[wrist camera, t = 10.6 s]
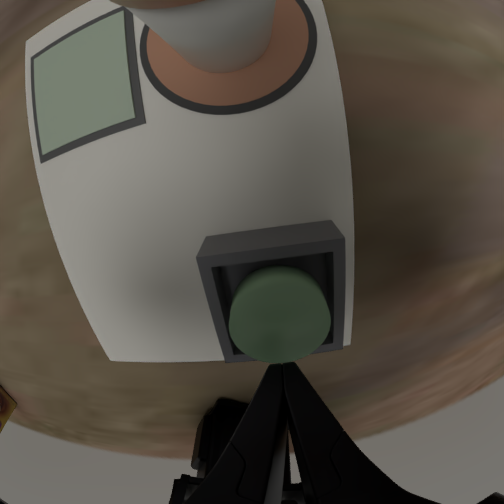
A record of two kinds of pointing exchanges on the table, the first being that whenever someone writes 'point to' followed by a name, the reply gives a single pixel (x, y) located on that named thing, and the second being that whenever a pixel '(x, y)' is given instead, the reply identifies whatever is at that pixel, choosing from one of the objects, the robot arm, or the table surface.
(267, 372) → the robot arm
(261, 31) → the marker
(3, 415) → the candy box
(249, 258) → the button housing
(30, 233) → the table surface
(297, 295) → the button
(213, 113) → the picture board
